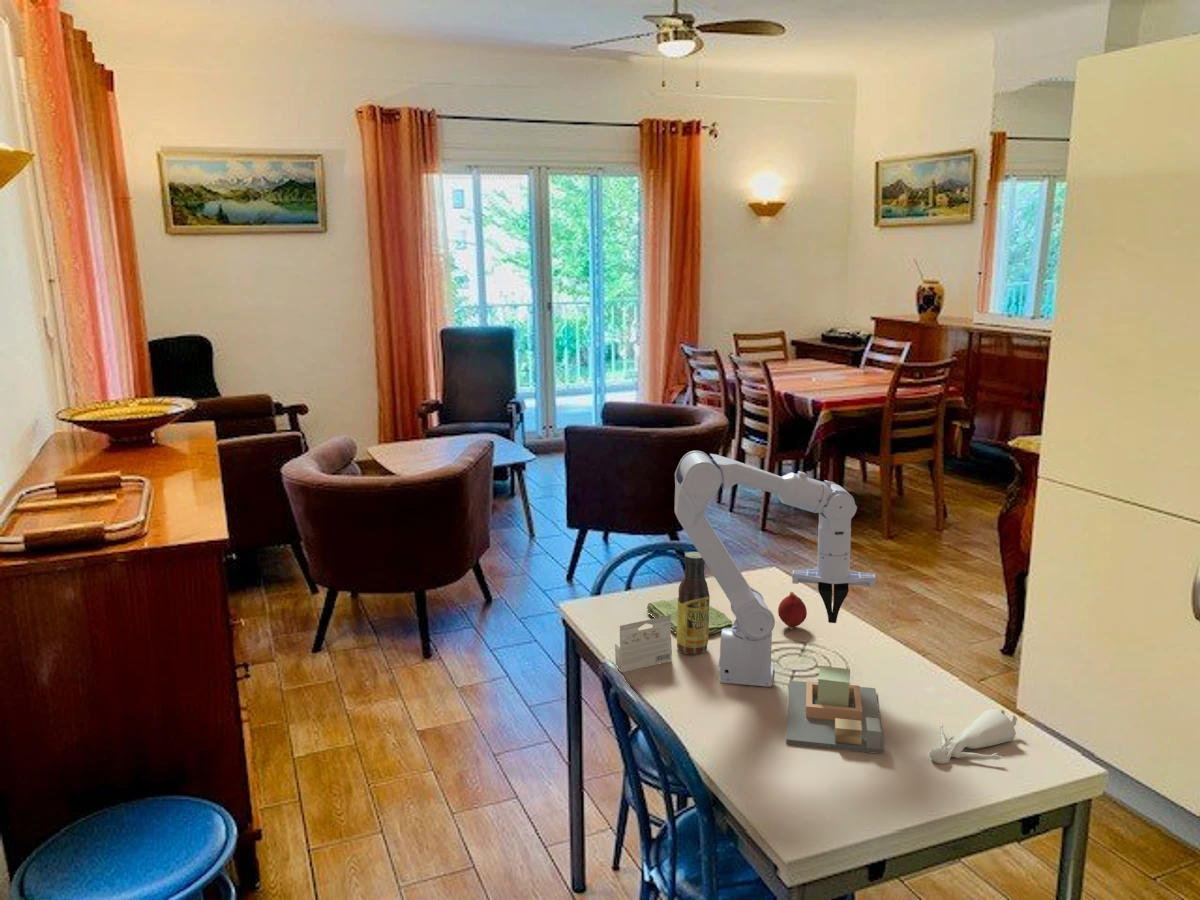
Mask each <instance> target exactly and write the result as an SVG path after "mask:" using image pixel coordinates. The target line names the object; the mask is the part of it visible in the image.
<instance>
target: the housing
mask: <svg viewBox="0 0 1200 900" xmlns="http://www.w3.org/2000/svg"><path fill="white" fill-rule="evenodd" d="M788 682H789V683H788V698H787V699H788V700H787V719H786V723H787V724H786V741H785V744H786V745H795V746H804V747H814V748H823V749H832V750H840V751H851V752H861V753H862V752H863V753H868V754H869V753H870V754H881V755H885V744H884V743H885V742H884V738H883V732H882V731H883V730H882V724H881V717H880V711H879V705H878V703H879V702H878V698H877V697H878V696H877V690H876V688H875V687H869V686H868V687H867V686H860V685H858V684H857V685H856V684H849V704H848V707H838V706H828V705H817V700H818V681H809V680H806V681H797V680H789V681H788ZM835 718H838V719H849V720H859V721H861V726H862V741H861V745H858V744H848V743H839V742H835Z"/></svg>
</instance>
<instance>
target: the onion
mask: <svg viewBox="0 0 1200 900" xmlns="http://www.w3.org/2000/svg"><path fill="white" fill-rule="evenodd" d="M777 610H778V611H777V614H778V617H779V619H780V620H781V621H782V623H784V624H785V625H786V626H787V628H790V629H794V628H796V627H798V626H800V625H801V624H802V623H803V622H805V620H806V619H807V614H808V613H807V606H806V604H805V602H803V599H802V598H800V597H799V596H797V595H796V594H795V592H794V591H792V590H791V591H789V595H788V596H786V597H785V598H782V600H781V601H780V602H779V605H778V608H777Z"/></svg>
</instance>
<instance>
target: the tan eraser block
mask: <svg viewBox="0 0 1200 900" xmlns="http://www.w3.org/2000/svg"><path fill="white" fill-rule="evenodd" d="M861 741H862V726H861V721H859V720H849V719H838V718H835V742H839V743H848V744H858V745H861Z"/></svg>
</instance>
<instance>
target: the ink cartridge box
mask: <svg viewBox="0 0 1200 900" xmlns="http://www.w3.org/2000/svg"><path fill="white" fill-rule="evenodd" d="M647 624H648V625H651V626H652V627H650V628H645V629H640V630H639V628H641V627H642V626H644V625H647ZM671 632H672V630H671V615H669V616H664V617H659V618H655V619H654V618H650V619H646V620H645V619H644V620H641V621H635V622H631V623H627V624H622V625H619V643H617V642H616V643H614V652H615V666H616V665H617V666H618V668H619V669H620V670H621V671H622V672H621V673H625V672H629V671H635V670H638V668H639V669H643V668H642V667H644V668H647V667H646V666H648V667H651V665H652V666H656V665H655V664H657V665H660V664H659V663H661V664H665V663H664V662H666V663H669V662H672V661H673V660H672V659H673V657H672V656H673V655H672V637H671ZM634 669H635V670H634Z"/></svg>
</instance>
